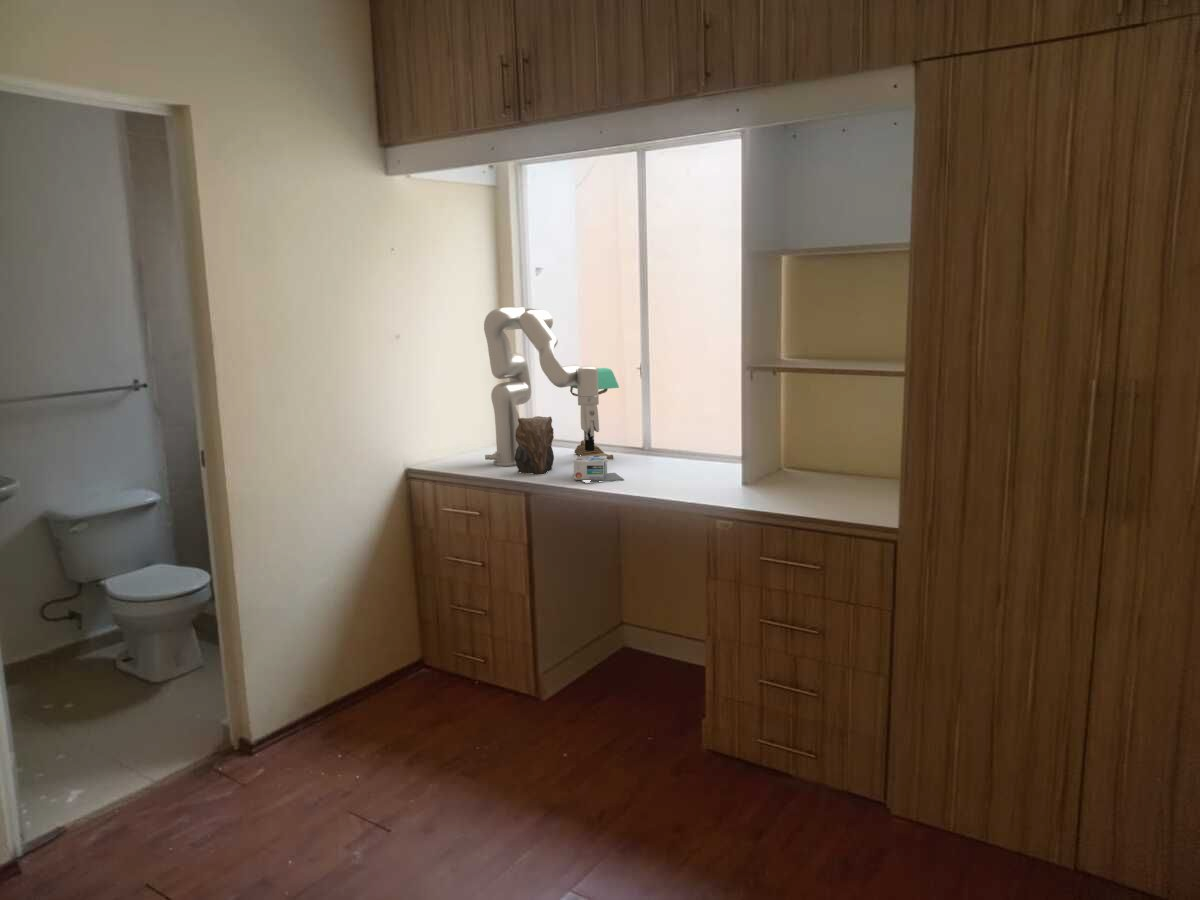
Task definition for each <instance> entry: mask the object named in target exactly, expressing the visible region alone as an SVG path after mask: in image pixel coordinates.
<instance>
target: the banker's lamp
mask: <svg viewBox="0 0 1200 900" xmlns="http://www.w3.org/2000/svg"><path fill="white" fill-rule="evenodd" d="M596 368H597V367H596ZM597 370H598V395H601V394H605V393H607V392H608V389H618V388H620V386H619V384H618V381H617V379H616V376H615V373H614V371H613V370H612V369H611V368H607V367H599V368H597ZM569 387H570V393H571V395H572V396H574V397H578V393H575V392H573V390H574V389H577V390H578V387H577V385H574V386H569ZM599 390H600V391H599ZM585 440H586V439H585V435H584V434H583V440H580V444H578V445H577V446H576V448H575V449H574V454H575V453H576V454H578V455H577V456H579V455H581V456H607V459H611V460H614V454H608V453H606V452H604V451H603V450H602V449H601V448H600V447H599V446H598V445H595V444H594V451H586V450H585ZM576 454H575V455H576Z"/></svg>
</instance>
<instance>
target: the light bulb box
mask: <svg viewBox="0 0 1200 900" xmlns="http://www.w3.org/2000/svg"><path fill="white" fill-rule="evenodd" d="M607 473H608V460H607V456H579V455H577V458H575V460H573V479H574V480H577V481H581V480H603V479H604V478H605V476H606V474H607Z"/></svg>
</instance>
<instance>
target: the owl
mask: <svg viewBox="0 0 1200 900" xmlns="http://www.w3.org/2000/svg"><path fill="white" fill-rule="evenodd" d="M518 422H519V425H518V427H517V429H516V434H515V437H516V439H515V440H516V441H517V442H518V444H519V446H518V448H517V449H516V454H515V457H514V460H515V461H516V464H517V465H516V467H517V470H518V473H519V472H521V473H520V474H526V473H533V474H532V475H538V474H544V473H545V474H546V472H547V471H549V472H550V471H552V470H551V469H553V465H554V459H555V455H554V451H553V447H552V444H553V439H554V437H555V436H554V435H555V434H554V428H553V426H552V423H553V419H552V416H538V415H537V416H533V417H527V418H525V417H520V418H518ZM547 473H548V472H547ZM545 474H544V475H545Z"/></svg>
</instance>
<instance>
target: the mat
mask: <svg viewBox="0 0 1200 900" xmlns="http://www.w3.org/2000/svg"><path fill="white" fill-rule="evenodd" d="M615 480H621V481H624V480H625V479H624V478H623V477H622V476H620V475H619V474H617V473H616V472H607V474H606V476H605V478H604V479H603V480H591V481H590V482H598V483H600V482H599V481H610V482H616V481H615Z"/></svg>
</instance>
